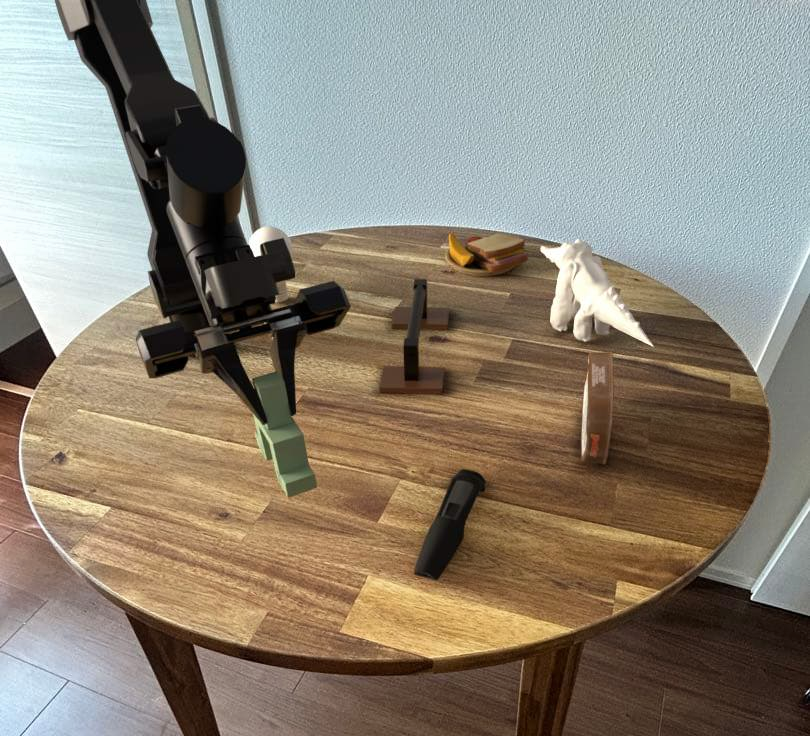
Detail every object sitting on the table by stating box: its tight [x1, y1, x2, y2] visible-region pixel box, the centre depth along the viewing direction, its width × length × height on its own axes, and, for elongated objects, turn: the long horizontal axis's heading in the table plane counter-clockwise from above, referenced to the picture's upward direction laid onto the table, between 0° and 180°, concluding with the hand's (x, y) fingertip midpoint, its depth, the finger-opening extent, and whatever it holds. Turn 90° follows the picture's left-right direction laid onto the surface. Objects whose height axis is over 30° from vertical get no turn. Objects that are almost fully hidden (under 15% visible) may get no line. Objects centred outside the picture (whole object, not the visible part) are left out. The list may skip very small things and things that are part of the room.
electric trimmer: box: [413, 468, 487, 581], centre depth 64 cm, size 4×16×3 cm, turn 159°
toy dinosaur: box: [540, 238, 655, 348], centre depth 86 cm, size 7×24×11 cm, turn 28°
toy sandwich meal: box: [444, 232, 529, 277], centre depth 105 cm, size 12×14×5 cm
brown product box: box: [580, 351, 615, 465], centre depth 72 cm, size 15×3×8 cm, turn 168°
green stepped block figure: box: [251, 370, 318, 498], centre depth 61 cm, size 9×3×10 cm, turn 27°
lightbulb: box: [248, 225, 294, 304], centre depth 96 cm, size 6×6×11 cm
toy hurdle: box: [378, 278, 450, 395], centre depth 87 cm, size 8×21×6 cm, turn 175°
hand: (279, 419), depth 59 cm, fingers closed on green stepped block figure, 2 cm apart
